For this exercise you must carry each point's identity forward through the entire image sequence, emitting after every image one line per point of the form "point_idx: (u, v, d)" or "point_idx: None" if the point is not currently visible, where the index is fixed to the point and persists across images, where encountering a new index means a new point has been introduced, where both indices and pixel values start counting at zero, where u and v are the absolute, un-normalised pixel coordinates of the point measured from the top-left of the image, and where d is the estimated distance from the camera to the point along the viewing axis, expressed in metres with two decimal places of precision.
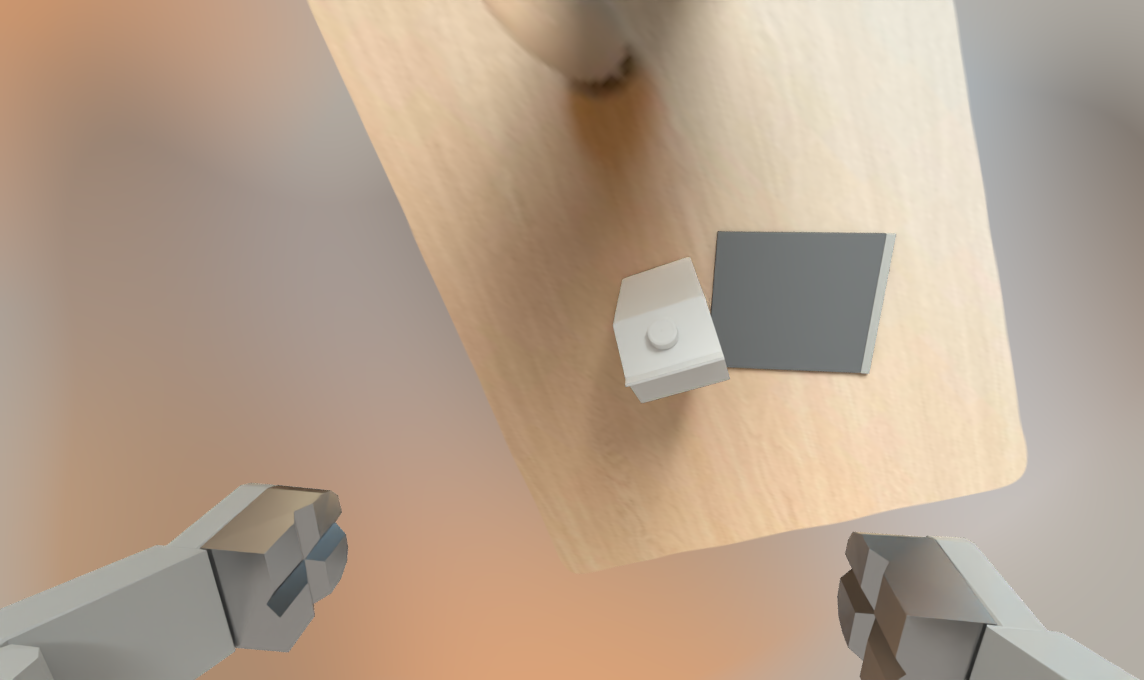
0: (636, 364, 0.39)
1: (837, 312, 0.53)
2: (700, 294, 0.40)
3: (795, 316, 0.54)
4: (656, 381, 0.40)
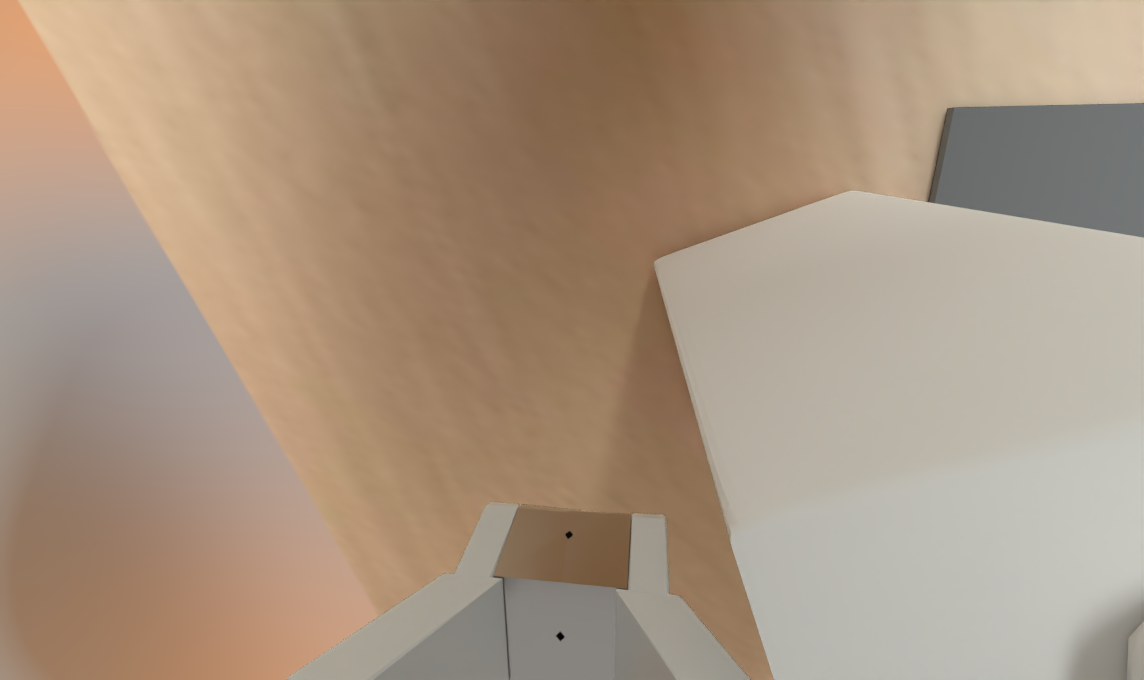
0: None
1: None
2: None
3: None
4: None
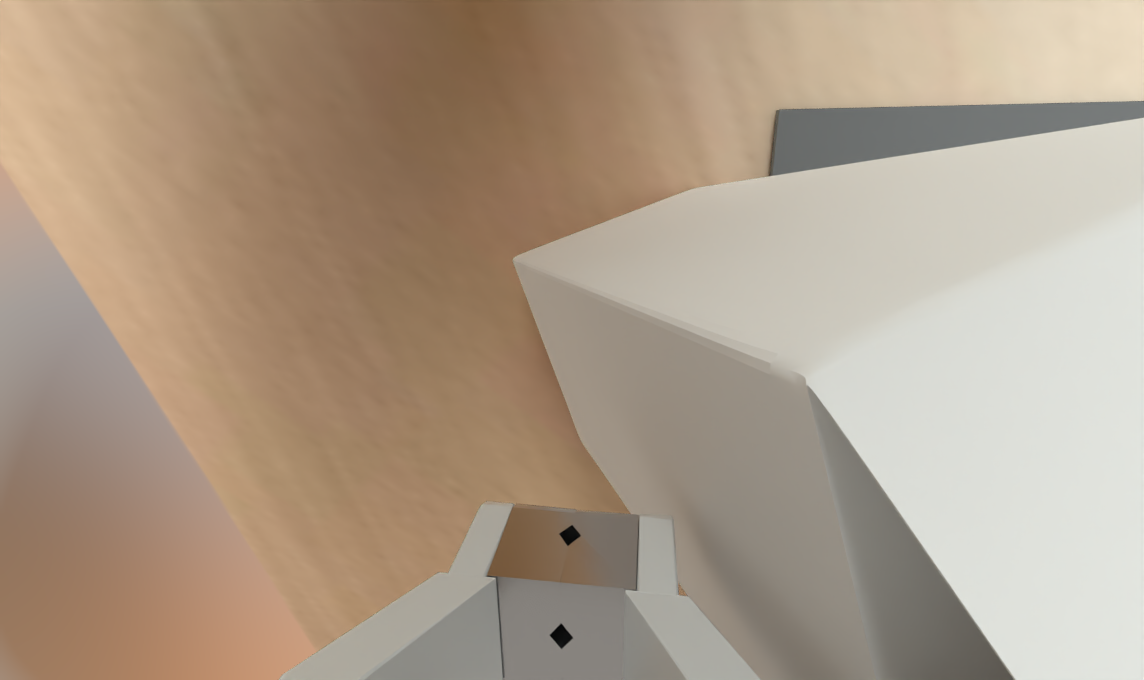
0: None
1: None
2: None
3: None
4: None
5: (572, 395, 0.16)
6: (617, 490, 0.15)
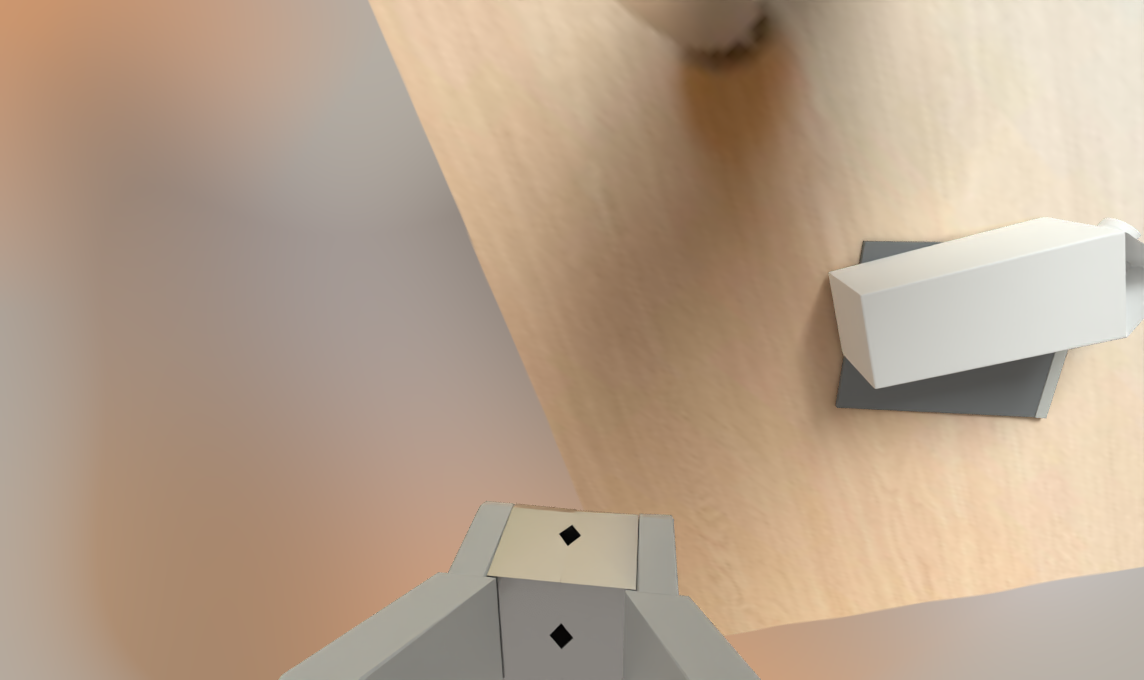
0: None
1: None
2: (1040, 218, 0.38)
3: None
4: None
5: (912, 344, 0.36)
6: (948, 369, 0.36)
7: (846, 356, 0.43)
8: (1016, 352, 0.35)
